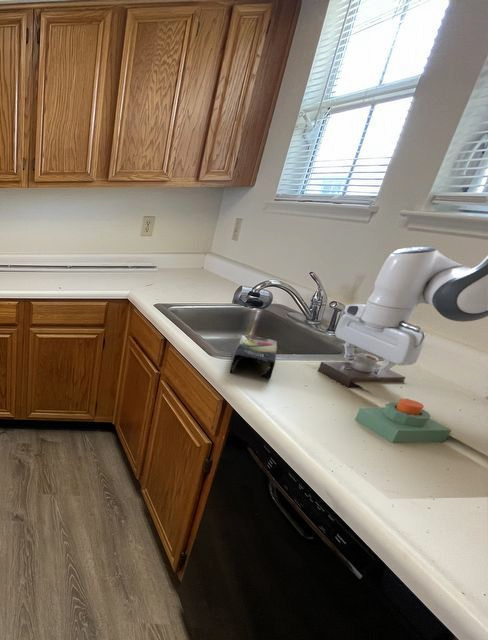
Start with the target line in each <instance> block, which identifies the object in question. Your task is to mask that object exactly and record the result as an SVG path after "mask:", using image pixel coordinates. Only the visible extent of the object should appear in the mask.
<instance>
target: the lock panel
mask: <svg viewBox="0 0 488 640" xmlns="http://www.w3.org/2000/svg"><path fill="white" fill-rule="evenodd" d="M353 361H354V360H342V361H341V360H340V361H339V360H333V361H332V360H331V361H330V360H328V361H327V360H326V361H325V360H323V361H322V360H321V362H320V364H319V367H318V369H317V372H318V373H320V374H321V373H322V375H323V374H324V375H323V376H325V375H326V376H325V377H327V376H328V377H329V378H328V377H327V378H328V379H330V378H331V379H330V380H332V379H333V380H332V381H334V380H335V381H336V382H335V381H334V382H335V383H337V382H338V383H337V384H339V383H340V384H339V385H340V386H342V385H343V386H342V387H344V386H345V388H346V387H347V388H346V389H364V387H362V386H361V385H360V384H357V383H393V382H394V383H403V382H405V379H406V376H404V375H403V374H400V373H398V372H395V371H393V370H391V369H389V370H388V371H387V373H386V375H385V376H379V375H377V374H375V373H374V371H375V369H376V367H381V366H382V365H380V364H378V363H377V364H376V366H375V368H374V370H373V372H362V371H358V370H356V369H353V368H352V367H351V366H352V364H353Z"/></svg>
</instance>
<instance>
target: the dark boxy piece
mask: <svg viewBox="0 0 488 640" xmlns="http://www.w3.org/2000/svg"><path fill="white" fill-rule="evenodd" d="M277 350H278V341H277V340H274V339H269V338H264V337H261V336H260V337H259V336H251V335H250V336H249V335H245V334H244V335H241V336H240V339H239V341H238V344H237V345H236V347H235V349H234V351H233V354H232V358H231V363H230V367H229V373H230V374H233V370H234V367H235V366H236V364H237V362H238V361H240V360H242V359H253V360H255V359H257V361H258V362H266V363H268V367H269V368H268V369H266V372H263V373H262V374H261V375H260V376H259V377H260V378H262V379H265V380H269V381H270V380H271V378H272V375H273V371H274V368H275V364H276V358H277Z"/></svg>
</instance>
